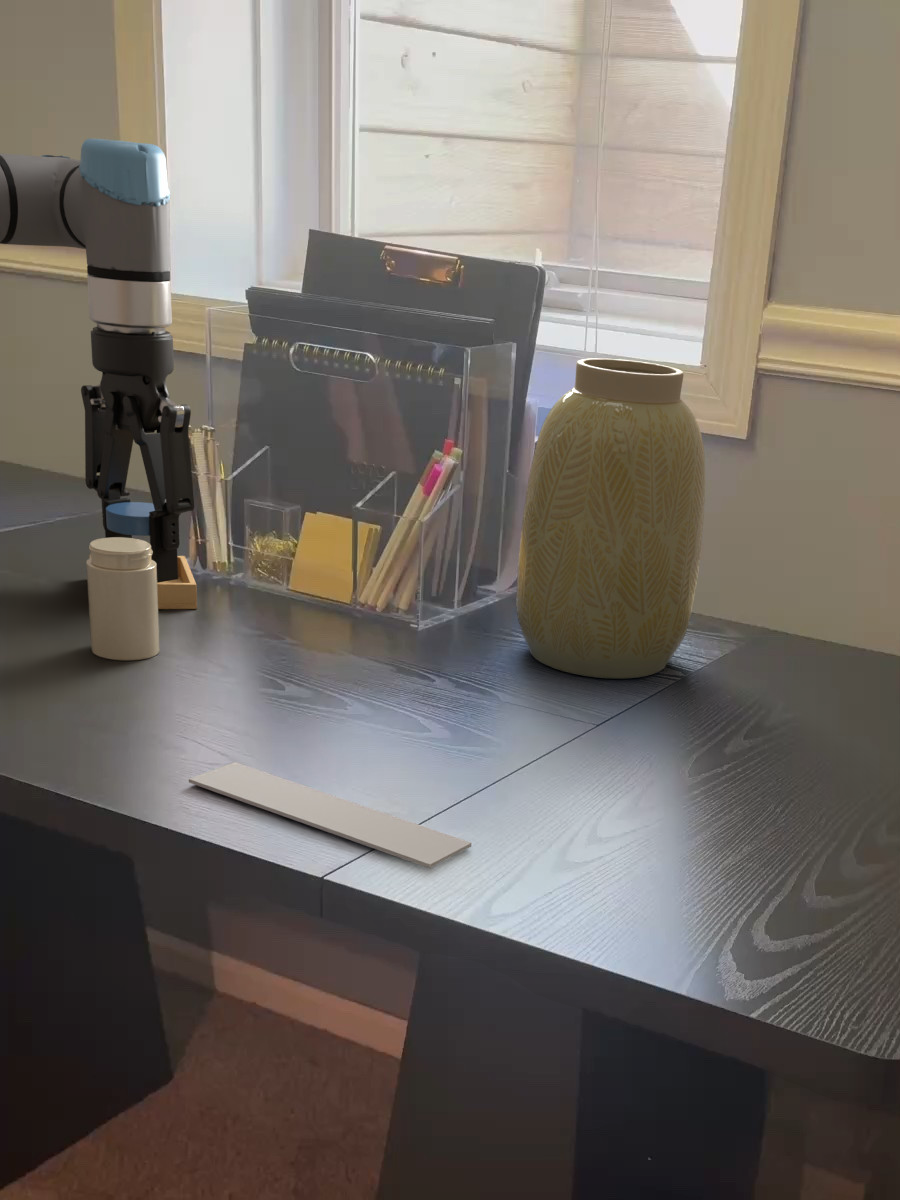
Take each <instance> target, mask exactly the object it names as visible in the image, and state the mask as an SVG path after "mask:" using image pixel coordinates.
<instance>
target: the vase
mask: <svg viewBox="0 0 900 1200" xmlns="http://www.w3.org/2000/svg"><path fill="white" fill-rule="evenodd" d="M683 379H684V371H682V370H680V369H678V368H676V367H672V366H668V365H663V364H658V363H653V362H645V361H639V360H630V359H618V358H617V359H616V358H584V359H583V358H582V359H579V360H577V361H576V365H575V382H574V387H572V388H571V389H569V390H567V392H566V393H563V395H562V396H561V397H560V398H559V399H558V400H556V402H555V403H554V405H553V406H552V407H551V409H550V410H549V412H547V415H546V417H545V419H544V421H543V423H542V426H541V428H540V431H539V434H538V437H537V441H536V445H535V449H534V452H533V457H532V462H531V465H530V470H529V476H528V481H527V486H526V493H525V498H524V507H523V514H522V520H521V529H520V539H519V549H518V560H517V574H516V575H517V576H516V596H515V597H516V598H515V600H516V601H515V605H516V607H515V608H516V617H517V621H518V624H519V628H520V631H521V634H522V636H523V639H524V641H525V643H526V646H527V648H528V651H529V653H530V655H532V657H533V658H534V659H535V660H537V661H538V662H539V663H541V664H543V665H545V666H547V667H549V668H552V669H554V670H557V671H561V672H565V673H568V674H572V675H578V676H583V677H589V678H597V679H610V680H612V679H613V680H622V679H623V680H627V679H638V678H644V677H648V676H653V675H656V674H657V673H659V672H661V671H663V670H664V669H665V668H666V667H667V665H668V664H669V662H670V661H671V659H672V658H673V656H675V654H676V652H677V651H678V650H679V648H680V646H681V644H682V642H683V641H684V638H685V637H686V634H687V631H688V629H689V625H690V621H691V616H692V611H693V608H694V607H693V606H694V601H695V595H696V588H697V582H698V578H699V577H698V576H699V568H700V560H701V551H702V544H703V543H702V541H703V531H704V521H705V520H704V518H705V517H704V516H705V505H706V504H705V502H706V456H705V444H704V439H703V436H702V433H701V429H700V426H699V424H698V422H697V420H696V417H695V415H694V413H693V412H692V410H691V409H690V407H689V406H688V405H687V403H685V401H684V400H682V398H681V393H682V386H683V381H684V380H683Z"/></svg>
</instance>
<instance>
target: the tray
mask: <svg viewBox="0 0 900 1200" xmlns="http://www.w3.org/2000/svg"><path fill="white" fill-rule="evenodd" d="M90 558H91V555H90V554H89V559H90ZM177 559H178V579H176V580H171V581H165V582H159V583H157V591H158V610H197V609H198V592H197V591H198V590H197V586H198V585H197V583H196V579H195V578H194V575H193V572H192V570H191V567H190V565H189V562H188V560H187V558H186V556H185V555H177Z"/></svg>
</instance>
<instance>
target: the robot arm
mask: <svg viewBox="0 0 900 1200" xmlns="http://www.w3.org/2000/svg"><path fill="white" fill-rule="evenodd" d="M167 169H168V168H167V158H166V155H165V153H164V151H163V150H162V149H161V148H160V147H159V146H158V145H156V144H154V143H145V142H144V143H143V142H142V143H141V142H135V141H126V140H125V141H124V140H116V139H114V140H113V139H105V138H92V137H91V138H87V139H85V140H84V141H83V143H82V144H81V147H80V159H75V158H71V157H69V156H63V155H52V154H42V155H31V154H15V153H3V152H0V245H13V246H14V245H15V246H35V247H36V246H37V247H38V246H39V247H64V248H65V247H67V248H76V249H82V250H85V257H86V264H87V266H86V270H87V271H86V273H87V276H86V277H87V278H86V279H87V281H86V282H87V296H88V297H87V301H88V318H89V319H90V320H91V321H92V322H93V323H95V324H96V326H94V327H93V328H92V330H91V331H90V346H91V364H92V366H93V368H94V369H95V370H97V371H98V372H100V373H101V379H100V383H99V384H87V385H86V384H84V385H81V388H80V393H81V398H82V404H83V408H84V409H83V410H84V442H85V443H84V457H85V458H84V463H85V464H84V467H85V469H84V471H85V472H84V474H85V476H84V477H85V485H86V487H87V489H89V490H95V492H96V494H97V496H98V498H99V499H100V500H101V514H102V516H101V517H102V526H103V529H104V534H105V535H104V536H105V537H104V538H111V537H123V538H133V535H126V534H120V533H116V532H113V531H111V530H109V529H108V528H107V521H106V507H107V506H109V505H112V504H116V503H126V502H131V499H130V498H127V497H128V496H130V494H131V492H130V490H128V489H126V486H127V480H128V474H129V468H130V462H131V456H132V451H133V445H134V443H135V444H136V445H138V447H139V450H140V454H141V458H142V463H143V467H144V471H145V475H146V480H147V483H148V488H149V492H150V496H151V501H152V503H153V505H154V509H155V511H152V512H149V514H150V515H149V525H150V536H149V543H150V545H151V549H152V551H153V554H152V560H154V561H155V562H156V564H157V583H159V582H165V581H171V580H176V579H178V559H177V556H178V549H179V547H180V516H181V515H182V514H183V513H187V512H193V511H194V509H195V499H194V498H195V496H194V485H193V471H192V460H191V459H192V458H191V448H190V436H189V435H190V433H189V429H190V422H191V415H192V410H191V407H190V406H189V404H186V403H185V404H183V403H182V404H178V403H176V402H174V401H173V400H171V399H170V393H169V390H168V387H167V377H168V376H169V375H171V374H172V373H173V372H174V370H175V369H174V368H175V361H174V336H173V335H171V334H172V333H171V332H170V331H167V330H166V328H169V327H171V325H172V324H173V313H172V311H173V310H172V287H171V286H172V284H171V270H172V268H171V267H172V266H171V265H172V264H171V215H170V206H171V205H170V200H171V191H170V189H169V185H168V172H167ZM122 497H123V498H122Z"/></svg>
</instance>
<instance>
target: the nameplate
mask: <svg viewBox="0 0 900 1200" xmlns="http://www.w3.org/2000/svg"><path fill="white" fill-rule="evenodd" d="M188 783H189V784H192V785H195V786H197V787H201V788H203V789H206V790H209V791H212V792H214V793H217V794H220V795H223V796H224V797H225V796H226V797H228V798H231V799H233V800H237V801H240V802H242V803H245V804H247V805H250V806H254V807H256V808H260V809H262V810H265V811H268V812H271V813H273V814H276V815H279V816H281V817H285V818H287V819H290V820H293V821H296V822H298V823H301V824H304V825H307V826H310V827H313V828H316V829H318V830H321V831H323V832H327V833H329V834H332V835H335V836H337V837H341V838H344V839H346V840H350V841H352V842H355V843H358V844H360V845H363V846H366V847H369V848H372V849H375V850H377V851H380V852H383V853H386V854H388V855H391V856H394V857H397V858H400V859H402V860H406V861H408V862H411V863H414V864H416V865H419V866H422V867H425V868H427V869H431V868H434V867H435V866H437V865H439V864H441V863H443V862H445V861H446V860H449V859H451V858H452V857H455V856H456V855H458V854H460V853H462V852H463V851H465V850H467V849H470V848H472V842H470V841H468V840H465V839H462V838H459V837H456V836H453V835H450V834H447V833H444V832H441V831H438V830H436V829H432V828H430V827H427V826H424V825H421V824H418V823H415V822H412V821H410V820H406V819H403V818H400V817H399V816H398V817H397V816H394V815H392V814H389V813H386V812H383V811H380V810H377V809H373V808H372V807H369V806H365V805H362V804H359V803H357V802H354V801H350V800H348V799H345V798H342V797H339V796H337V795H333V794H330V793H327V792H324V791H321V790H319V789H315V788H314V787H310V786H307V785H304V784H300V783H298V782H296V781H292V780H289V779H286V778H283V777H280V776H277V775H275V774H272V773H269V772H265V771H264V770H260V769H257V768H254V767H251V766H249V765H245V764H242V763H239V762H237V761H234V762H232V763H228V764H226V765H223V766H220V767H217V768H215V769H212V770H209V771H207V772H203V773H200V774H198V775H195V776H192V777H189V778H188Z"/></svg>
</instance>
